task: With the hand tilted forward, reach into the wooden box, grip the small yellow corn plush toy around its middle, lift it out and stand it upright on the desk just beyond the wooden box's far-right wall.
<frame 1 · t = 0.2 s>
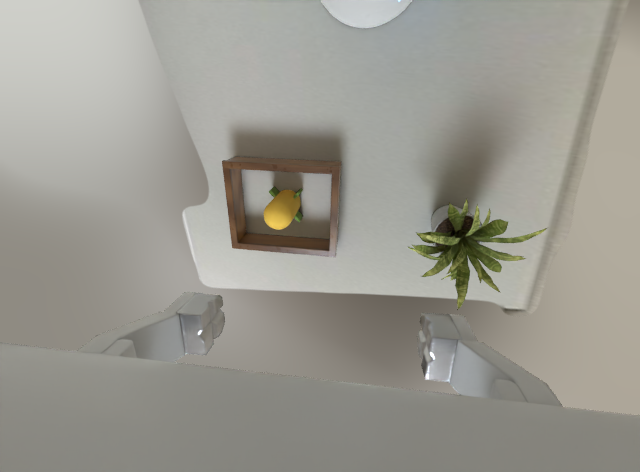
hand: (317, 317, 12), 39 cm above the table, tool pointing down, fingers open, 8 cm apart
corn plush toy: (281, 210, 48), in the wooden box
house plant: (451, 212, 49), on the table
wooden box: (288, 202, 52), on the table
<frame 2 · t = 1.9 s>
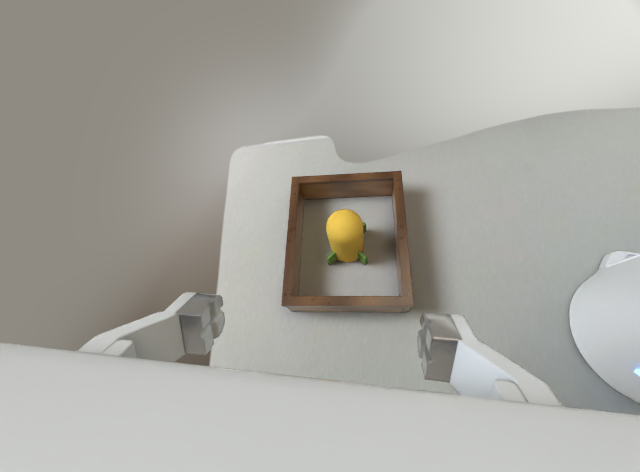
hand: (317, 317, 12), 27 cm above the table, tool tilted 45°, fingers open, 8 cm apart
corn plush toy: (345, 234, 38), in the wooden box
wooden box: (347, 247, 42), on the table
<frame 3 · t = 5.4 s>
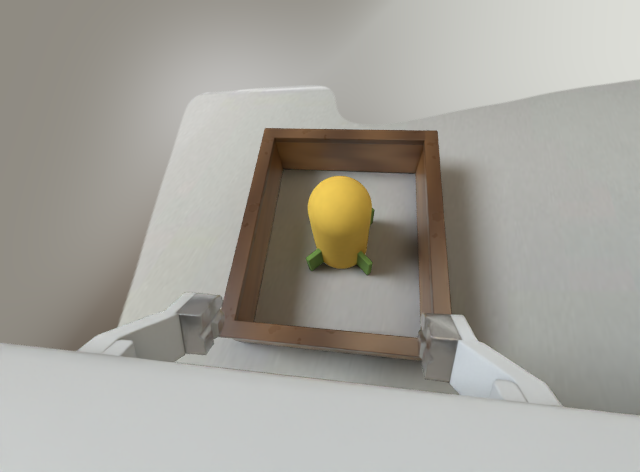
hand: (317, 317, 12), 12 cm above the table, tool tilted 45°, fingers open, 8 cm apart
corn plush toy: (340, 222, 23), in the wooden box
wooden box: (341, 245, 27), on the table
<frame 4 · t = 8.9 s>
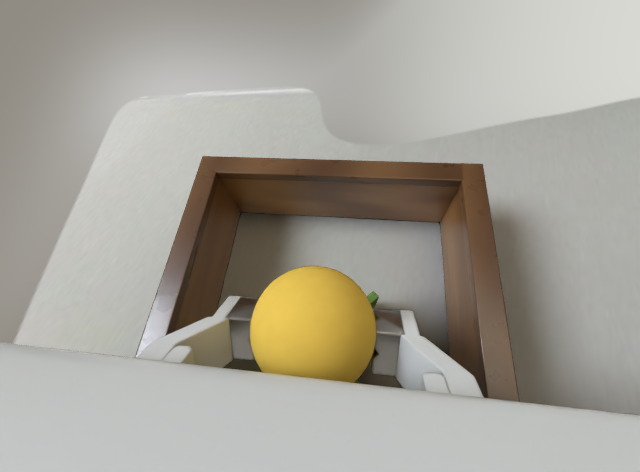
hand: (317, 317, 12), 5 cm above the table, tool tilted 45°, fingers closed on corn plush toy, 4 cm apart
corn plush toy: (318, 335, 13), in the wooden box, touching gripper
wooden box: (324, 346, 16), on the table
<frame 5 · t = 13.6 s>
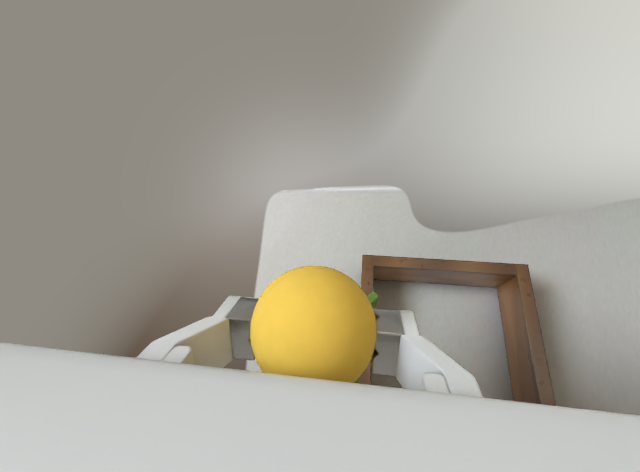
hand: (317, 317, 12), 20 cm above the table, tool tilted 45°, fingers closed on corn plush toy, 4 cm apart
corn plush toy: (318, 335, 13), point 19 cm above the table, touching gripper
wooden box: (435, 364, 29), on the table
when the fingers open (5 cm above the table, at t = 18.5 s): corn plush toy stays where it is, on the table.
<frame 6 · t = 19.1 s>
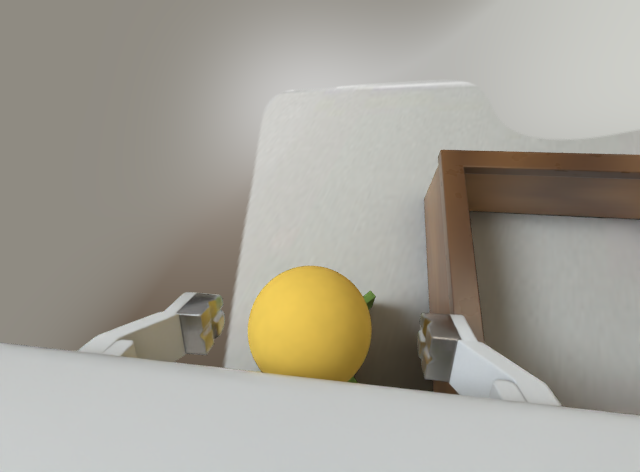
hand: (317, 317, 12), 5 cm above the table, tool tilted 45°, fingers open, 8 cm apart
corn plush toy: (315, 334, 13), on the table
wooden box: (577, 351, 16), on the table
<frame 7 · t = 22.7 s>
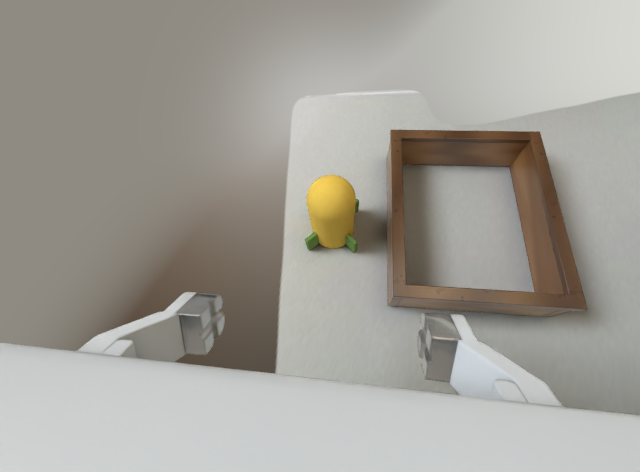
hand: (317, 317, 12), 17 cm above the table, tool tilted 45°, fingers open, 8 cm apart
corn plush toy: (331, 210, 29), on the table
wooden box: (457, 227, 32), on the table
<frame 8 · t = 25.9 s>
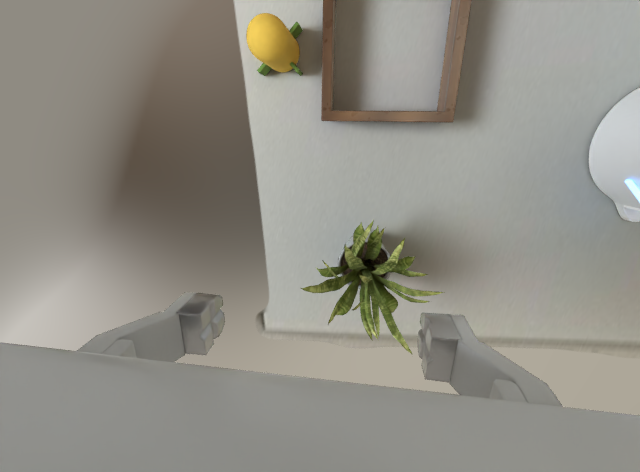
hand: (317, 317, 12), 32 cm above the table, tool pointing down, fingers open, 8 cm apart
corn plush toy: (273, 44, 34), on the table
house plant: (372, 250, 45), on the table
wooden box: (389, 41, 36), on the table
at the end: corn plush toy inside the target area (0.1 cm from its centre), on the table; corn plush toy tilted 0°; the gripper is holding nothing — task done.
